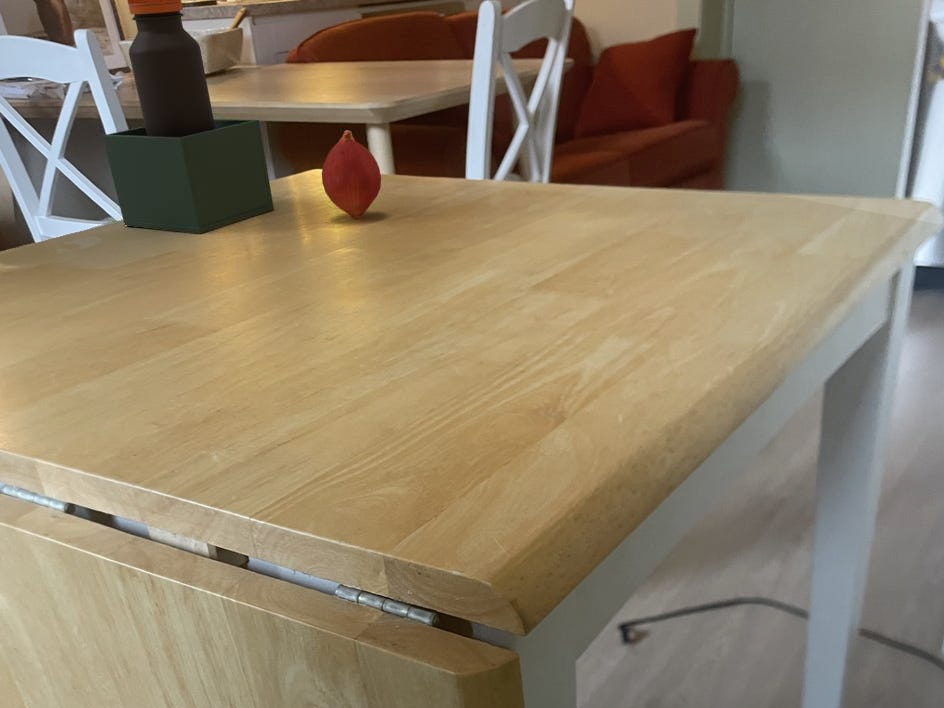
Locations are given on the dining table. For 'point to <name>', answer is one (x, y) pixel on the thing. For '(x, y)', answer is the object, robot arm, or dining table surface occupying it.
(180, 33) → the vinegar
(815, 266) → the dining table surface
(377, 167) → the onion
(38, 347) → the dining table surface
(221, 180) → the open box
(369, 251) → the dining table surface
